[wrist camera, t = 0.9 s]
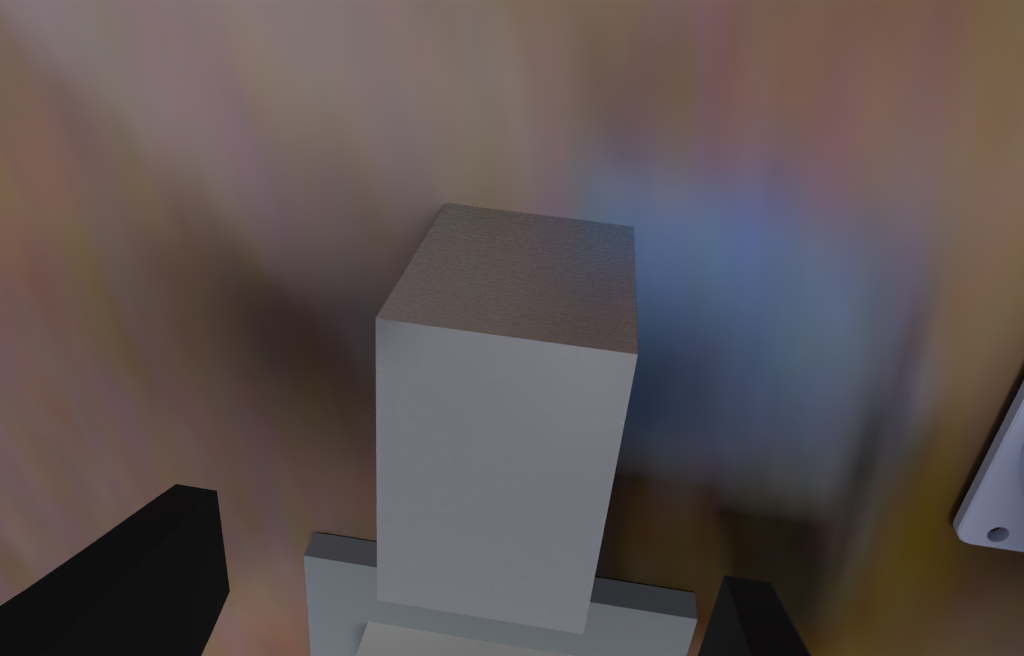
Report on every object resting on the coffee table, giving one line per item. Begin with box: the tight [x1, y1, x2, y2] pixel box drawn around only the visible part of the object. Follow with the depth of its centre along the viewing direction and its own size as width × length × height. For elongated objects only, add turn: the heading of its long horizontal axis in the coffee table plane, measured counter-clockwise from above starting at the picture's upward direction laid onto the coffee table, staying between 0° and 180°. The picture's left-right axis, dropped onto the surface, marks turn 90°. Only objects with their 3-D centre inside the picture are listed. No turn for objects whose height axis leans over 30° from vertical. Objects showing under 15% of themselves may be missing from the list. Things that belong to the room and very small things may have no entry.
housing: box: [376, 203, 638, 634], centre depth 17 cm, size 4×7×6 cm, turn 175°
